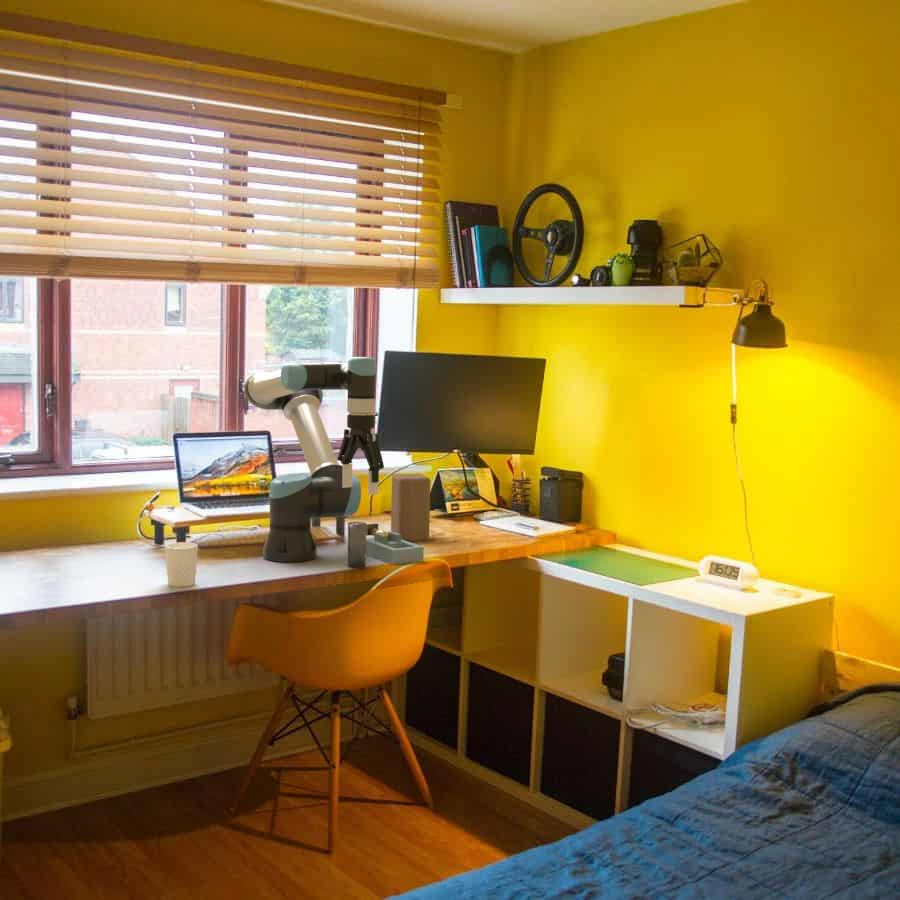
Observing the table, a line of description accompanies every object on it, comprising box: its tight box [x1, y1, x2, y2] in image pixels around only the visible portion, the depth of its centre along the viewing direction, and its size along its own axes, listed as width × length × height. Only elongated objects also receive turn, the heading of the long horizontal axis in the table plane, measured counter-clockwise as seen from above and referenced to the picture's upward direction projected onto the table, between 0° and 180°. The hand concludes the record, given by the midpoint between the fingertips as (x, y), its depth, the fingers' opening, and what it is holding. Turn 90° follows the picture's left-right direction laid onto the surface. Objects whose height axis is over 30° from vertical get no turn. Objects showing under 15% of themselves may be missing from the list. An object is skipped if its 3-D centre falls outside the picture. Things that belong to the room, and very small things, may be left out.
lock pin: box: [366, 522, 390, 540], centre depth 322 cm, size 4×9×3 cm, turn 34°
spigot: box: [347, 521, 367, 569], centre depth 302 cm, size 5×5×12 cm
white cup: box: [165, 541, 198, 588], centre depth 277 cm, size 8×8×10 cm
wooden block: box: [390, 473, 431, 543], centre depth 340 cm, size 10×10×20 cm
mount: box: [366, 531, 425, 565], centre depth 316 cm, size 10×18×6 cm, turn 34°
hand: (359, 490), depth 301 cm, fingers open, 13 cm apart
